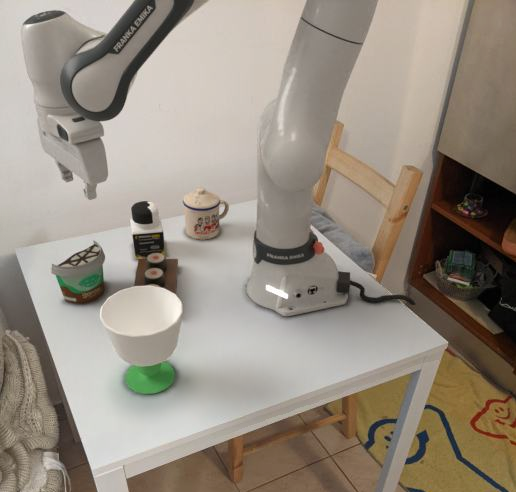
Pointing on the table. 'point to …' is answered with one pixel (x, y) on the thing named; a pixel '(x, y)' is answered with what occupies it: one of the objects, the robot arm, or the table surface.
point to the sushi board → (167, 274)
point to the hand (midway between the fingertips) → (79, 188)
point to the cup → (144, 334)
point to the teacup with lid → (203, 213)
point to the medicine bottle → (146, 229)
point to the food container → (82, 275)
